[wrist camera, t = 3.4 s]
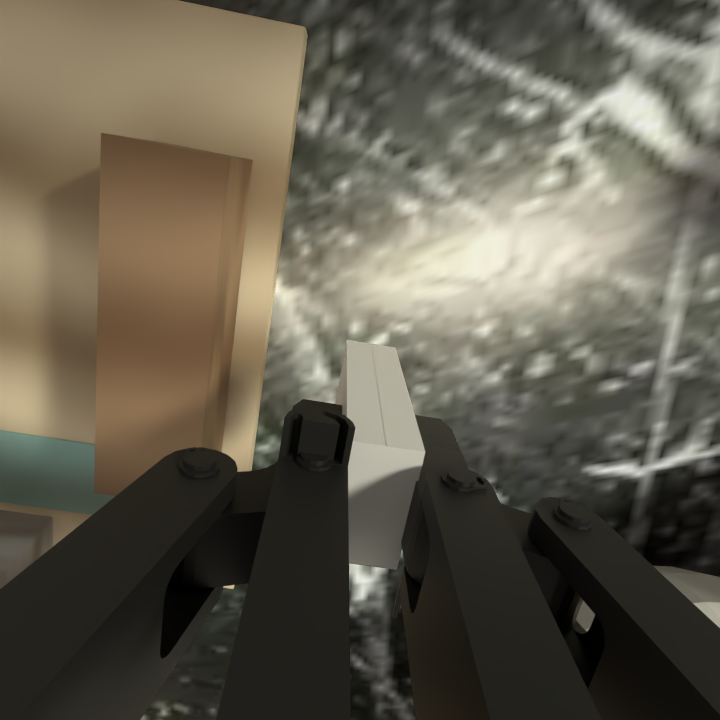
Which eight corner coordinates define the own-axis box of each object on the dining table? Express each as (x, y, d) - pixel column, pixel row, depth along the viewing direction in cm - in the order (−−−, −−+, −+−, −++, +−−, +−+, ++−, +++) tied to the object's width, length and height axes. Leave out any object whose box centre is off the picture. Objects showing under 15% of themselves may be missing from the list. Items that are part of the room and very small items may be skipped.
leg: (221, 452, 23) (195, 507, 19) (136, 439, 23) (94, 492, 19) (252, 159, 19) (228, 156, 15) (151, 140, 19) (100, 132, 15)
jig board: (-225, -76, 18) (-467, -180, 13) (307, 35, 19) (290, -17, 14) (-137, 520, 26) (-263, 610, 20) (238, 571, 27) (210, 668, 22)
